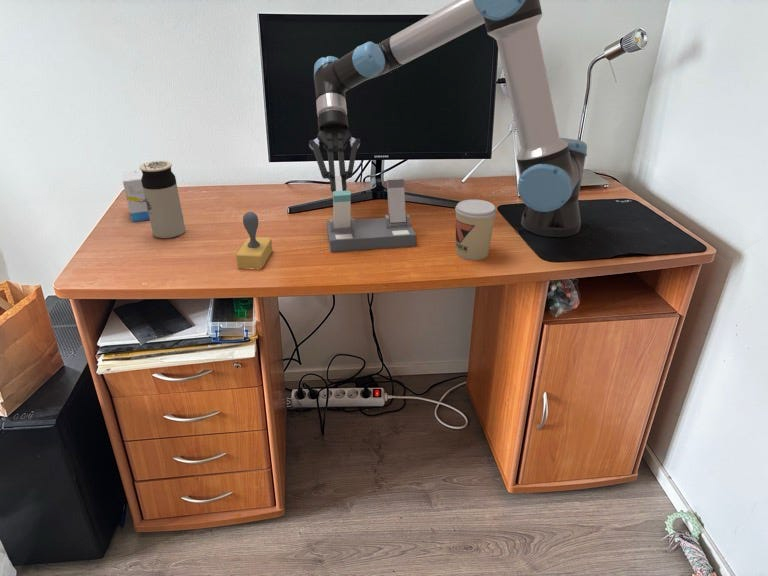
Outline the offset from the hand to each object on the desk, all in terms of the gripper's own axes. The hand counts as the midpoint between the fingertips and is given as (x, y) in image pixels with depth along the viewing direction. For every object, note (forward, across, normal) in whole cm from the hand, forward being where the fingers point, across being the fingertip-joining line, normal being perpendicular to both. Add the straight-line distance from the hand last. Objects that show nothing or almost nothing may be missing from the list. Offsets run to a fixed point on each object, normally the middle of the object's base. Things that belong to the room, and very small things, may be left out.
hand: (340, 203), depth 136 cm
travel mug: (-1, +44, -17) cm, 47 cm away
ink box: (-10, +52, -27) cm, 59 cm away
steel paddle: (+3, -14, -4) cm, 15 cm away
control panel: (+7, -7, -8) cm, 13 cm away
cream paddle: (+4, 0, -4) cm, 6 cm away
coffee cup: (+15, -31, +1) cm, 34 cm away
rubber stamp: (+12, +21, -3) cm, 24 cm away
